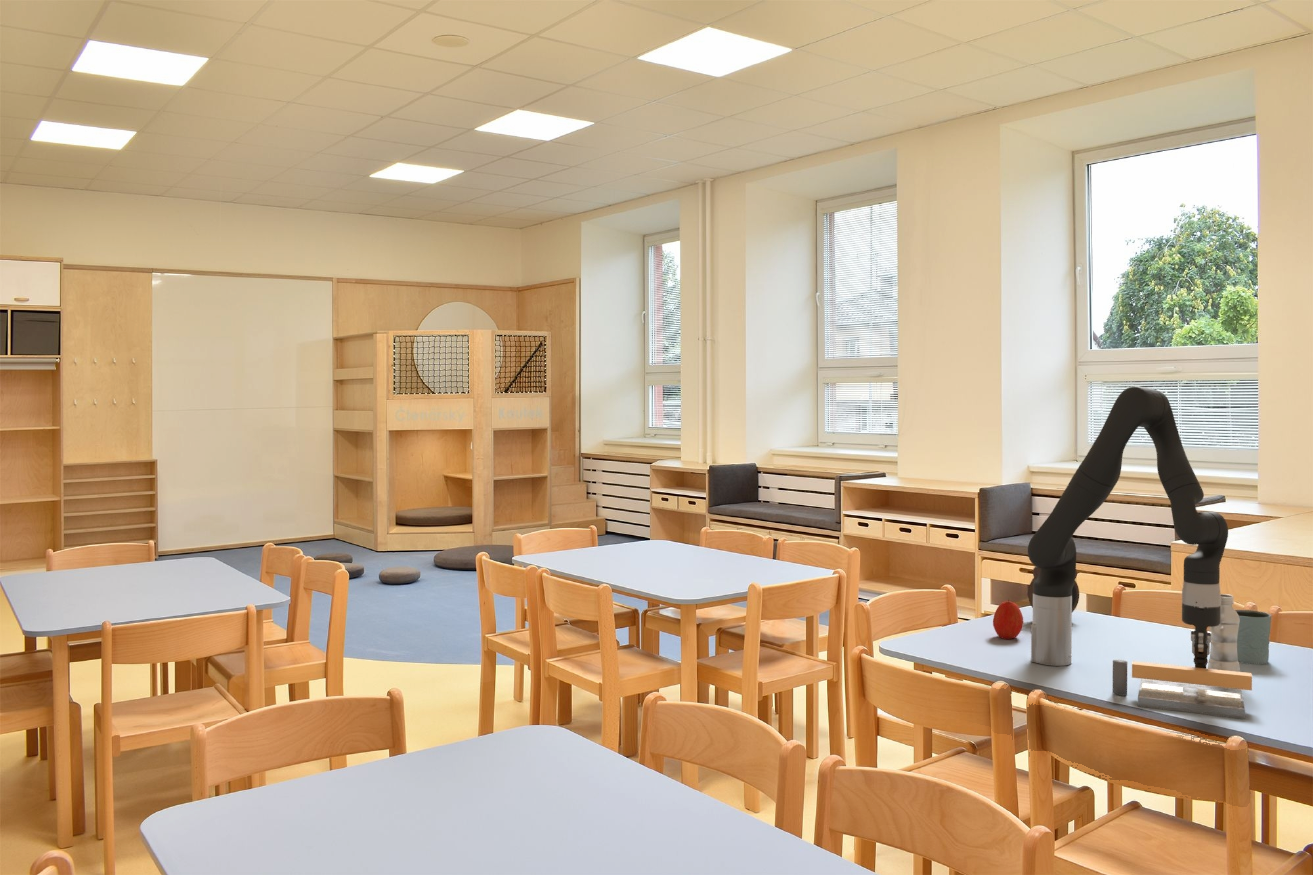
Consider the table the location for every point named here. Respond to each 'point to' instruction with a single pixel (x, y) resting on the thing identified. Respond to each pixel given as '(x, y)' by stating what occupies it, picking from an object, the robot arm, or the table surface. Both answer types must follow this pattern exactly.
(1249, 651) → the teal cup
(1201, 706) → the label board
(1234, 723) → the table surface
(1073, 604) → the alarm clock
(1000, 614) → the apple
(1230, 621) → the plastic bottle
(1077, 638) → the table surface
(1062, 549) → the robot arm
